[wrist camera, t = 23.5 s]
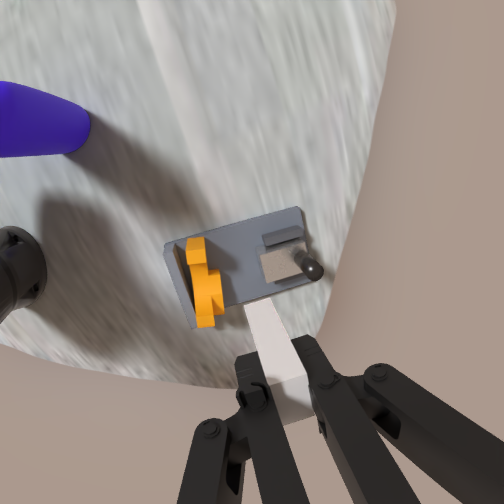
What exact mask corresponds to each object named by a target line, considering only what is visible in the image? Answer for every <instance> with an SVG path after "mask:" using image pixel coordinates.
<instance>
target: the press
mask: <svg viewBox="0 0 504 504" xmlns="http://www.w3.org/2000/svg"><path fill="white" fill-rule="evenodd" d="M196 237H204V240H205V249H206V257H207V265H208V270H214V269H219V272H220V279H221V287H222V295H223V303H224V307H228V306H231V305H235V304H238V303H242V302H245V301H248V300H252V299H255V298H259V297H262V296H265V295H268V294H272V293H275V292H278V291H281V290H285V289H288V288H291V287H294V286H297V285H301V284H304V283H307V282H310V281H311V280H309V279H308V278H307V276H306V275H305V274H304V273H303V272H302V273H299V274H296V275H293V276H289V277H286V278H283V279H280V280H276V281H273V282H270V283H266V281H265V279H264V277H263V275H262V273H261V269H260V265H259V261H258V257H257V254H256V250H255V247H258V246H262V245H266V246H269V245H273V244H276V243H280V242H283V241H286V240H290V239H293V238H297V237H299V238H301V239H302V240H303V241H304V242H305V245H306V250H307V253H308V254H309V251H308V246H307V241H306V236H305V230H304V225H303V220H302V216H301V211H300V207H298V206H295V207H292V208H288V209H284V210H281V211H277V212H273V213H270V214H266V215H262V216H259V217H255V218H251V219H248V220H244V221H241V222H237V223H234V224H230V225H227V226H223V227H220V228H216V229H213V230H209V231H206V232H203V233H199V234H196V235H192V236H189V237H186V238H182V239H179V240H176V241H172V242H169V243H166V244H165V245H164V247H165V249H164V252H163V256H164V259H165V262H166V265H167V267H168V270H169V273H170V276H171V278H172V281H173V284H174V286H175V289H176V292H177V294H178V297H179V299H180V302H181V305H182V307H183V310H184V312H185V315H186V317H187V320H188V322H189V325H190V327H191V329H194V328H197V321H196V310H195V299H194V291H193V283H192V277H191V271H190V266H189V265H187V258H186V245H187V238H196Z"/></svg>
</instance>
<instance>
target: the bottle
mask: <svg viewBox="0 0 504 504" xmlns="http://www.w3.org/2000/svg"><path fill="white" fill-rule="evenodd" d="M89 132H90V119H89V116H88V114H87V112H86V111H85V110H84V109H83V108H82V107H80V106H79V105H77V104H75V103H72V102H70V101H68V100H65V99H62V98H60V97H57V96H55V95H52V94H49V93H46V92H43V91H40V90H37V89H34V88H31V87H27V86H24V85H21V84H17V83H12V82H6V81H0V158H5V157H23V156H39V155H54V154H65V153H70V152H73V151H75V150H77V149H78V148H80V147H81V146H82V145H83V144H84V142H85V141H86V139H87V137H88V135H89Z"/></svg>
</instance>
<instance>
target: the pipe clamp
mask: <svg viewBox="0 0 504 504" xmlns="http://www.w3.org/2000/svg"><path fill="white" fill-rule="evenodd" d="M186 258H187V265H189V266H190V271H191V277H192V283H193V291H194V299H195V310H196V321H197V327H198V328H202V327H211V326H215V322H214V315H221V314H225V312H224V303H223V295H222V287H221V279H220V272H219V269H214V270H208V265H207V257H206V249H205V240H204V237H196V238H187V245H186Z"/></svg>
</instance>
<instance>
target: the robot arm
mask: <svg viewBox="0 0 504 504" xmlns="http://www.w3.org/2000/svg"><path fill="white" fill-rule="evenodd" d="M46 279H47V270H46V263H45V260H44V256H43V254H42V251H41V249H40V248H39V246H38V244H37V243H36V241H35V240H34V239H33V238H32V236H31V235H30V234H28V233H27V232H26V231H24V230H23V229H21V228H19V227H15V226H6V227H3V228H1V229H0V324H1V322H2V321H3V320H4V319H5V318H6V317H7V316H8V315H9V313H10V312H11V311H13V310H16V309H20V308H23V307H26V306H29V305H30V304H32V303H33V302H35V300H36V299H37V298H38V297H39V296H40V295H41V294H42V292H43V290H44V288H45V285H46ZM244 309H245V312H246V315H247V319H248V322H249V325H250V329H251V332H252V335H253V338H254V342H255V345H256V348H257V351H256V352H252V353H249V354H245V355H242V356H238V357H237V359H236V362H235V364H234V365H235V370H236V375H237V380H238V385H239V388H238V390H237V391H236V398H237V400H238V403H239V405H240V409H239V411H238V412H237V413H236V414H235V415H233V416H232V417H230V418H228V419H226V420H224V421H222V420H221V419H216V418H212V419H207V420H205V421H203V422H201V423H200V424H199V425H198V426H197V428H196V430H195V432H194V436H193V440H192V444H191V448H190V452H189V456H188V460H187V464H186V468H185V472H184V476H183V480H182V484H181V488H180V492H179V497H178V500H177V504H241V501H242V491H243V483H244V473H245V464H246V463H245V462H246V460H248V459H250V458H252V461H253V465H254V469H255V474H256V478H257V483H258V487H259V491H260V495H261V499H262V503H263V504H310V503H309V500H308V497H307V494H306V492H305V489H304V486H303V483H302V480H301V478H300V474H299V472H298V469H297V466H296V463H295V460H294V457H293V454H292V452H291V449H290V446H289V443H288V440H287V437H286V434H285V431H284V428H283V426H284V425H287V424H290V423H293V422H296V421H299V420H303V419H306V418H308V417H311V416H314V415H315V414H316V416H317V420H318V426H319V432H320V433H322V434H323V436H324V438H325V441H326V443H327V445H328V447H329V449H330V452H331V454H332V456H333V458H334V461H335V463H336V465H337V467H338V470H339V472H340V474H341V476H342V478H343V481H344V483H345V485H346V487H347V489H348V492H349V494H350V496H351V498H352V500H353V503H354V504H421V503H420V501H419V500H418V498H417V496H416V495H415V493H414V492H413V490H412V488H411V486H410V485H409V483H408V481H407V480H406V478H405V476H404V475H403V473H402V472H401V470H400V468H399V467H398V465H397V463H396V462H395V460H394V458H393V457H392V455H391V454H390V452H389V450H388V449H387V447H386V445H385V444H384V442H383V441H382V439H381V438H380V436H379V434H378V432H379V433H380V434H381V435H382V436H383V437H384V438H386V439H387V440H388V441H389V442H390V443H391V444H392V445H393V446H395V447H396V448H397V449H398V450H399V451H400V452H401V453H403V454H404V455H405V456H406V457H407V458H408V459H410V460H411V461H412V462H413V463H414V464H415V465H416V466H418V467H419V468H420V469H421V470H422V471H424V472H425V473H426V474H427V475H428V476H429V477H431V478H432V479H433V480H434V481H435V482H437V483H438V484H439V485H440V486H441V487H443V488H444V489H445V490H446V491H448V492H449V493H450V494H451V495H453V496H454V497H455V498H456V499H458V500H459V501H460V502H461V503H463V504H504V442H503V441H501V440H500V439H499V438H497V437H496V436H494V435H492V434H491V433H489V432H488V431H486V430H485V429H483V428H482V427H480V426H479V425H477V424H476V423H474V422H473V421H471V420H470V419H468V418H467V417H466V416H464V415H463V414H461V413H459V412H458V411H457V410H455V409H454V408H452V407H451V406H449V405H448V404H446V403H445V402H443V401H442V400H440V399H439V398H437V397H436V396H434V395H433V394H432V393H430V392H429V391H427V390H426V389H424V388H423V387H421V386H420V385H418V384H417V383H415V382H414V381H412V380H411V379H410V378H408V377H407V376H405V375H404V374H402V373H401V372H399V371H398V370H396V369H395V368H394V367H392V366H390V365H388V364H384V363H379V364H374V365H372V366H370V367H368V368H367V369H366V370H365V372H364V375H359V376H351V377H347V376H343V375H341V374H340V373H338V372H336V371H335V370H334V369H333V367H332V366H331V364H330V362H329V361H328V359H327V357H326V356H325V354H324V352H323V351H322V349H321V348H320V346H319V344H318V343H317V341H316V340H315V338H313V337H311V336H309V335H308V334H307V335H304V336H301V337H298V338H295V339H292V340H290V338H289V336H288V334H287V332H286V330H285V328H284V326H283V324H282V322H281V320H280V318H279V316H278V314H277V312H276V310H275V308H274V306H273V304H272V302H271V299H270V298H267V299H264V300H260V301H257V302H254V303H250V304H247V305H244ZM314 412H315V414H314ZM376 430H377V431H378V432H377V431H376Z"/></svg>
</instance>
